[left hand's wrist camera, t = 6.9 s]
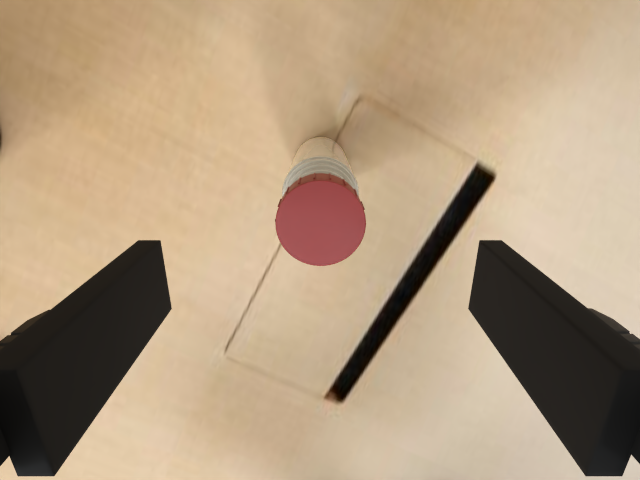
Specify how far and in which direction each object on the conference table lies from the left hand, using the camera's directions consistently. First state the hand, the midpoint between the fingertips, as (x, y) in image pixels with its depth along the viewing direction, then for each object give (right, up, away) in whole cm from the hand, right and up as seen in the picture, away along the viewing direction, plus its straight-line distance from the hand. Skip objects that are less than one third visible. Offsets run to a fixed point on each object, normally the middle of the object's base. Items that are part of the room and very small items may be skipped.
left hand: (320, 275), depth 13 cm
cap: (0, +2, +5) cm, 6 cm away
